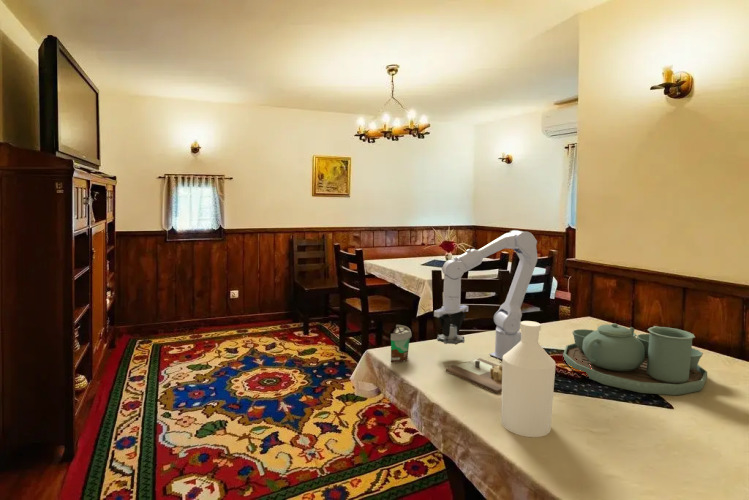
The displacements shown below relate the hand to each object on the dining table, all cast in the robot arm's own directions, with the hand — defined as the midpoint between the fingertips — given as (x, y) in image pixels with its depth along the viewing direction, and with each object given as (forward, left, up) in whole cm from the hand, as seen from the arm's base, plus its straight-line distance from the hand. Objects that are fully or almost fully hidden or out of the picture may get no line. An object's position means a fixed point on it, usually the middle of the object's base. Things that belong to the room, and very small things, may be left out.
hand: (450, 334), depth 150 cm
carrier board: (+2, +18, -8) cm, 20 cm away
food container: (+14, -9, -8) cm, 19 cm away
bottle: (+18, +43, -8) cm, 47 cm away
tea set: (-41, +40, -9) cm, 58 cm away
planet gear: (0, 0, -2) cm, 2 cm away
